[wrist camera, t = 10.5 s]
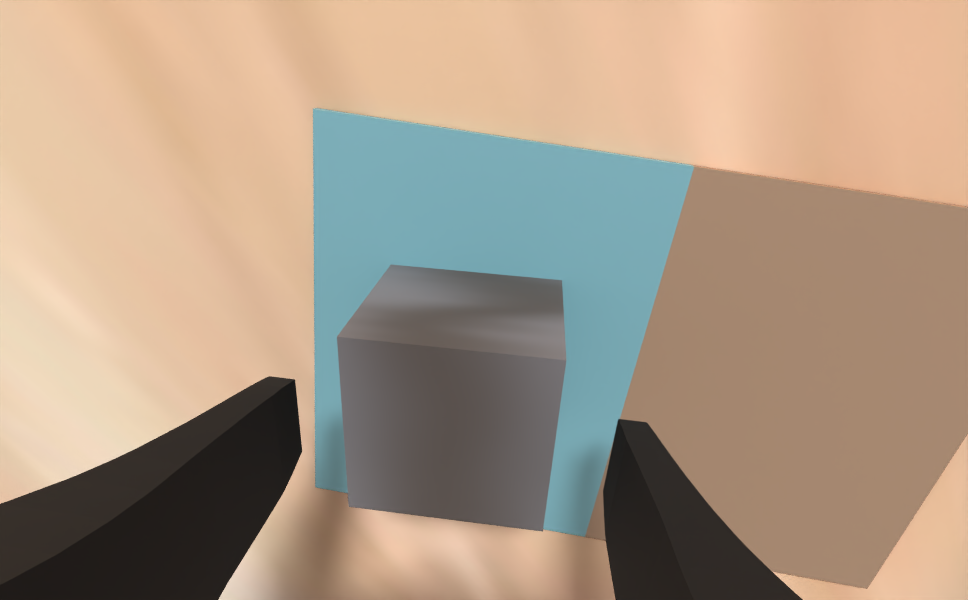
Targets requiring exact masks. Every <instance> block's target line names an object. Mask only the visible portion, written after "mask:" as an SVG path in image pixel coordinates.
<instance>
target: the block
mask: <svg viewBox="0 0 968 600" xmlns="http://www.w3.org/2000/svg"><path fill="white" fill-rule="evenodd" d="M337 346H338V361H339V375H340V389H341V403H342V418H343V432H344V446H345V460H346V475H347V489H348V503H349V507H356V508H364V509H372V510H379V511H387V512H395V513H403V514H411V515H418V516H426V517H434V518H442V519H450V520H458V521H465V522H473V523H481V524H489V525H497V526H505V527H512V528H520V529H528V530H536V531H543V526H544V519H545V512H546V505H547V497H548V490H549V483H550V476H551V469H552V461H553V454H554V447H555V440H556V432H557V425H558V418H559V411H560V403H561V396H562V389H563V382H564V374H565V367H566V343H565V325H564V307H563V289H562V280H554V279H544V278H533V277H522V276H511V275H500V274H489V273H478V272H467V271H456V270H445V269H435V268H424V267H413V266H402V265H390V266H389V268H388V269H387V270H386V272H385V273H384V274H383V276H382V277H381V278H380V280H379V281H378V282H377V284H376V285H375V286H374V288H373V289H372V290H371V292H370V293H369V294H368V296H367V297H366V298H365V300H364V301H363V302H362V304H361V305H360V306H359V308H358V309H357V310H356V312H355V313H354V314H353V316H352V317H351V318H350V320H349V321H348V322H347V324H346V325H345V326H344V328H343V329H342V330H341V332H340V333H339V334H338V336H337Z"/></svg>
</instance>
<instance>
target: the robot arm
mask: <svg viewBox="0 0 968 600" xmlns="http://www.w3.org/2000/svg"><path fill="white" fill-rule="evenodd" d="M301 453H302V445H301V435H300V425H299V415H298V405H297V395H296V385H295V379H286V378H278V377H270V376H269V377H267V378H265V379H263V380H261V381H259V382H257V383H255V384H253V385H251V386H250V387H248V388H246V389H244V390H243V391H241V392H239V393H237V394H236V395H234V396H232V397H230V398H229V399H227V400H225V401H223V402H222V403H220V404H218V405H216V406H215V407H213V408H211V409H209V410H208V411H206V412H204V413H202V414H201V415H199V416H197V417H195V418H194V419H192V420H190V421H188V422H186V423H185V424H183V425H181V426H179V427H177V428H175V429H173V430H171V431H169V432H167V433H165V434H164V435H162V436H160V437H158V438H156V439H154V440H152V441H150V442H148V443H146V444H144V445H142V446H141V447H139V448H137V449H135V450H132V451H130V452H128V453H126V454H124V455H122V456H120V457H118V458H116V459H113V460H111V461H109V462H107V463H104V464H102V465H100V466H97V467H95V468H93V469H91V470H88V471H86V472H84V473H81V474H79V475H76V476H74V477H72V478H69V479H67V480H64V481H61V482H59V483H56V484H53V485H50V486H48V487H45V488H42V489H40V490H37V491H34V492H32V493H29V494H26V495H24V496H21V497H18V498H16V499H13V500H10V501H7V502H4V503H1V504H0V600H218V599H219V597H220V595H221V594H222V592H223V590H224V588H225V587H226V585H227V583H228V581H229V580H230V578H231V577H232V575H233V573H234V572H235V570H236V569H237V567H238V565H239V564H240V562H241V561H242V559H243V557H244V556H245V554H246V553H247V551H248V549H249V548H250V546H251V544H252V543H253V541H254V540H255V538H256V536H257V535H258V533H259V532H260V530H261V528H262V527H263V525H264V524H265V522H266V520H267V519H268V517H269V515H270V514H271V512H272V511H273V509H274V507H275V506H276V504H277V502H278V501H279V499H280V497H281V496H282V494H283V492H284V490H285V488H286V486H287V484H288V482H289V480H290V478H291V476H292V473H293V471H294V469H295V466H296V464H297V462H298V460H299V457H300V455H301ZM603 505H604V525H605V538H606V545H607V551H608V557H609V563H610V569H611V575H612V581H613V587H614V593H615V599H616V600H803V599H801V598H800V597H799V596H798V595H797V594H796V593H794V592H793V591H792V590H791V589H790V588H789V587H788V586H787V585H786V584H785V583H784V582H782V581H781V580H780V579H779V578H778V577H777V576H776V575H775V574H774V573H773V572H772V571H771V570H770V569H769V568H768V567H767V566H766V565H765V564H764V563H763V562H762V561H761V560H760V559H759V558H758V557H757V556H756V555H755V554H754V553H753V552H752V551H751V550H749V549H748V547H747V546H746V545H745V544H744V543H743V542H742V541H741V540H740V539H739V538H738V537H737V536H736V535H735V534H734V533H733V532H732V530H731V529H730V528H729V527H728V526H727V525H726V524H725V523H724V521H723V520H722V519H721V518H720V517H719V516H718V515H717V513H716V512H715V511H714V510H713V509H712V508H711V506H710V505H709V504H708V503H707V502H706V500H705V499H704V498H703V497H702V495H701V494H700V493H699V491H698V490H697V489H696V488H695V486H694V485H693V484H692V483H691V481H690V480H689V479H688V478H687V476H686V475H685V474H684V472H683V471H682V470H681V468H680V467H679V466H678V464H677V463H676V462H675V460H674V459H673V457H672V456H671V455H670V453H669V452H668V451H667V449H666V448H665V446H664V445H663V444H662V442H661V441H660V439H659V438H658V436H657V435H656V434H655V432H654V431H653V430H652V428H651V427H650V426H649V424H648V423H647V422H641V421H632V420H624V419H618V422H617V426H616V431H615V436H614V441H613V445H612V450H611V455H610V460H609V464H608V469H607V474H606V479H605V483H604V488H603Z"/></svg>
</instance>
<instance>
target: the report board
mask: <svg viewBox="0 0 968 600" xmlns="http://www.w3.org/2000/svg"><path fill="white" fill-rule="evenodd" d="M313 170H314V332H315V487H317V488H322V489H327V490H333V491H338V492H344V493H348V489H347V475H346V460H345V446H344V432H343V418H342V403H341V389H340V375H339V361H338V346H337V336H338V334H339V333H340V332H341V330H342V329H343V328H344V326H345V325H346V324H347V322H348V321H349V320H350V318H351V317H352V316H353V314H354V313H355V312H356V310H357V309H358V308H359V306H360V305H361V304H362V302H363V301H364V300H365V298H366V297H367V296H368V294H369V293H370V292H371V290H372V289H373V288H374V286H375V285H376V284H377V282H378V281H379V280H380V278H381V277H382V276H383V274H384V273H385V272H386V270H387V269H388V268H389V266H390V265H402V266H413V267H424V268H435V269H445V270H456V271H467V272H478V273H489V274H500V275H511V276H522V277H533V278H544V279H554V280H562V289H563V307H564V325H565V343H566V367H565V374H564V382H563V389H562V396H561V403H560V411H559V418H558V425H557V432H556V440H555V447H554V454H553V461H552V469H551V476H550V483H549V490H548V497H547V505H546V512H545V519H544V526H543V529H545V530H550V531H556V532H561V533H567V534H572V535H578V536H583V537H588V538H594V539H599V540H605V541H606V538H605V525H604V505H603V488H604V483H605V479H606V474H607V469H608V464H609V460H610V455H611V450H612V445H613V441H614V436H615V431H616V426H617V422H618V419H624V420H632V421H641V422H647V423H648V424H649V426H650V427H651V428H652V430H653V431H654V432H655V434H656V435H657V436H658V438H659V439H660V441H661V442H662V444H663V445H664V446H665V448H666V449H667V451H668V452H669V453H670V455H671V456H672V457H673V459H674V460H675V462H676V463H677V464H678V466H679V467H680V468H681V470H682V471H683V472H684V474H685V475H686V476H687V478H688V479H689V480H690V481H691V483H692V484H693V485H694V486H695V488H696V489H697V490H698V491H699V493H700V494H701V495H702V497H703V498H704V499H705V500H706V502H707V503H708V504H709V505H710V506H711V508H712V509H713V510H714V511H715V512H716V513H717V515H718V516H719V517H720V518H721V519H722V520H723V521H724V523H725V524H726V525H727V526H728V527H729V528H730V529H731V530H732V532H733V533H734V534H735V535H736V536H737V537H738V538H739V539H740V540H741V541H742V542H743V543H744V544H745V545H746V546H747V547H748V549H749V550H751V551H752V552H753V553H754V554H755V555H756V556H757V557H758V558H759V559H760V560H761V561H762V562H763V563H764V564H765V565H766V566H767V567H768V568H769V569H770V570H771V571H773V572H779V573H784V574H790V575H795V576H801V577H806V578H811V579H817V580H822V581H828V582H833V583H839V584H844V585H849V586H855V587H860V588H866V589H867V588H868V587H869V585H870V584H871V582H872V581H873V579H874V577H875V576H876V574H877V573H878V571H879V570H880V568H881V567H882V565H883V564H884V562H885V560H886V559H887V557H888V556H889V554H890V553H891V551H892V550H893V548H894V547H895V545H896V544H897V542H898V540H899V539H900V537H901V536H902V534H903V533H904V531H905V530H906V528H907V527H908V525H909V523H910V522H911V520H912V519H913V517H914V516H915V514H916V513H917V511H918V510H919V508H920V507H921V505H922V503H923V502H924V500H925V499H926V497H927V496H928V494H929V493H930V491H931V490H932V488H933V486H934V485H935V483H936V482H937V480H938V479H939V477H940V476H941V474H942V473H943V471H944V470H945V468H946V466H947V465H948V463H949V462H950V460H951V459H952V457H953V456H954V454H955V453H956V451H957V449H958V448H959V446H960V445H961V443H962V442H963V440H964V439H965V437H966V436H967V434H968V207H965V206H959V205H952V204H945V203H939V202H932V201H926V200H919V199H912V198H906V197H899V196H893V195H886V194H879V193H873V192H866V191H860V190H853V189H847V188H840V187H833V186H827V185H820V184H814V183H807V182H800V181H794V180H787V179H781V178H774V177H767V176H761V175H754V174H748V173H741V172H734V171H728V170H721V169H715V168H708V167H701V166H695V165H688V164H682V163H675V162H668V161H662V160H655V159H649V158H642V157H635V156H629V155H622V154H616V153H609V152H602V151H596V150H589V149H583V148H576V147H569V146H563V145H556V144H550V143H543V142H536V141H530V140H523V139H517V138H510V137H503V136H497V135H490V134H484V133H477V132H470V131H464V130H457V129H451V128H444V127H438V126H431V125H424V124H418V123H411V122H405V121H398V120H391V119H385V118H378V117H372V116H365V115H358V114H352V113H345V112H339V111H332V110H325V109H319V108H315V109H313Z"/></svg>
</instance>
